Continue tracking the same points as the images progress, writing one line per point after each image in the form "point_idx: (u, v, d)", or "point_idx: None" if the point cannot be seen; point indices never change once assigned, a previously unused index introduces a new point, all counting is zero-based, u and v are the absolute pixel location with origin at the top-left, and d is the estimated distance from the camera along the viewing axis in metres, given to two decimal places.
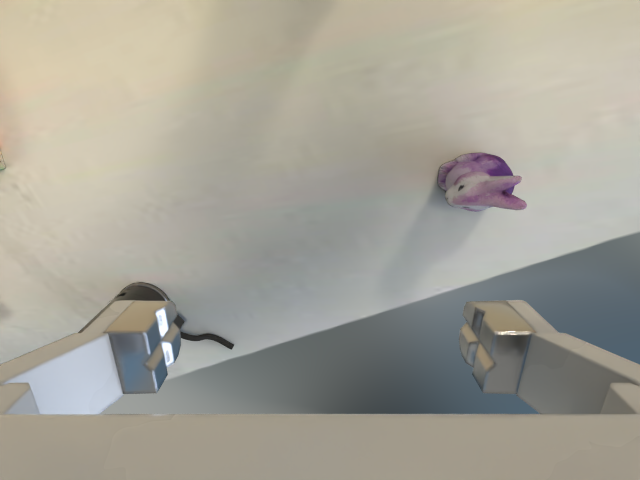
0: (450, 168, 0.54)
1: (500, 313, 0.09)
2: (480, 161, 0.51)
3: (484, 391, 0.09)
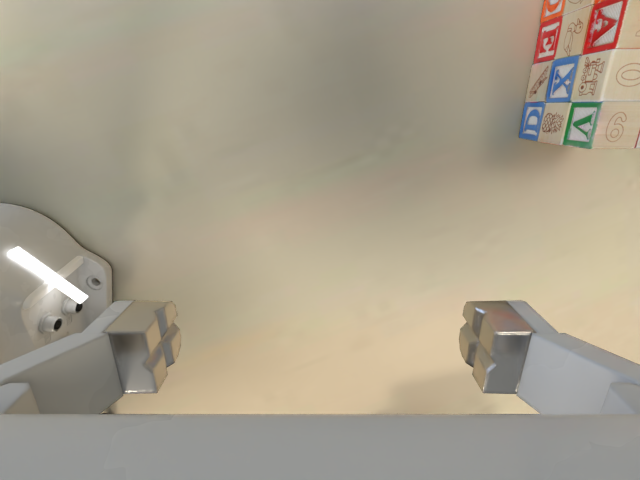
0: None
1: (500, 313, 0.09)
2: None
3: (484, 391, 0.09)
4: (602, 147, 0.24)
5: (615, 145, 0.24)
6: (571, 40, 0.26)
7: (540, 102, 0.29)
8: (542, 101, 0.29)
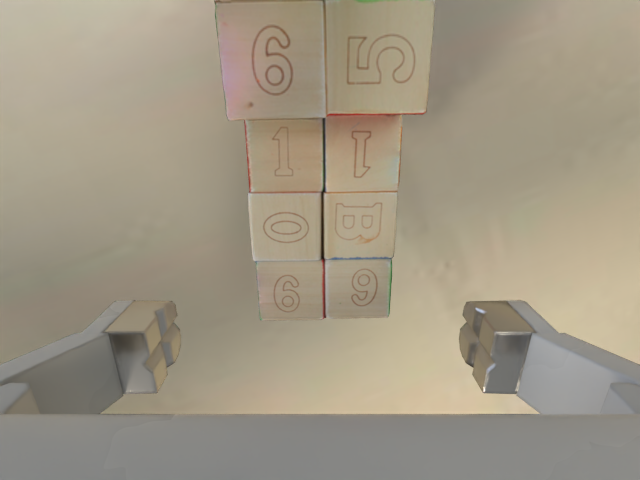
0: None
1: (500, 313, 0.09)
2: None
3: (484, 391, 0.09)
4: (276, 318, 0.17)
5: (294, 316, 0.17)
6: None
7: None
8: None
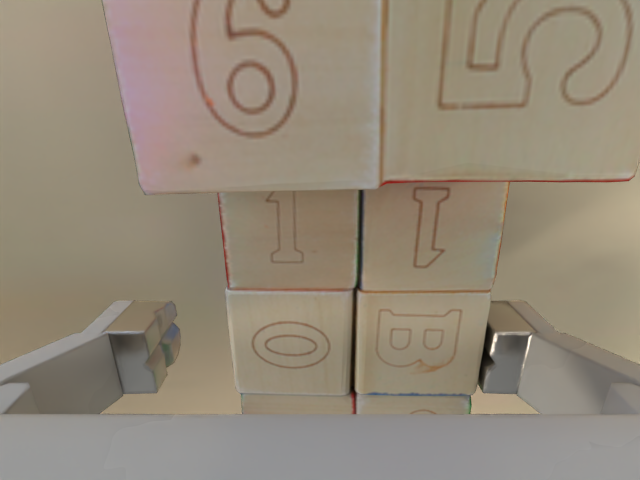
0: None
1: (500, 313, 0.09)
2: None
3: (484, 391, 0.09)
4: None
5: None
6: None
7: None
8: None
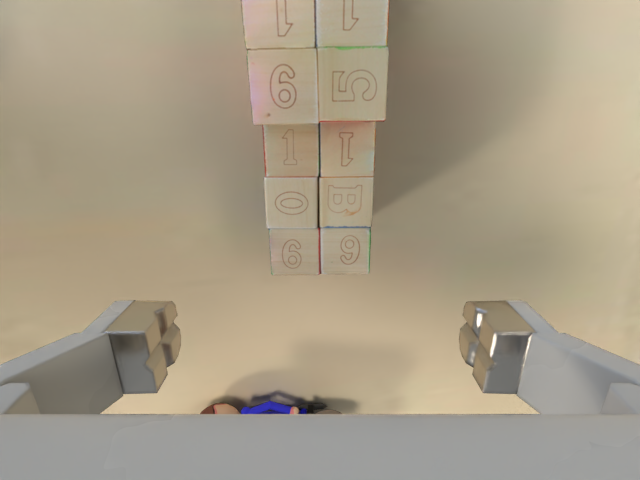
0: None
1: (500, 313, 0.09)
2: None
3: (484, 391, 0.09)
4: (284, 273, 0.22)
5: (297, 272, 0.22)
6: None
7: None
8: None
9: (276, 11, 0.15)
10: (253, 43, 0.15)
